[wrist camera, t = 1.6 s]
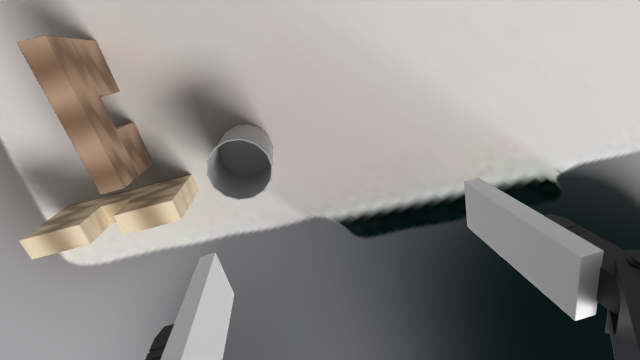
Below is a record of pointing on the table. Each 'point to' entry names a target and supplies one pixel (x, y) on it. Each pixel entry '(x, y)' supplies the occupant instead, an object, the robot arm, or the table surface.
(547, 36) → the table surface
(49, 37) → the walnut plate
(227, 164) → the cup
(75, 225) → the notched wooden slab
